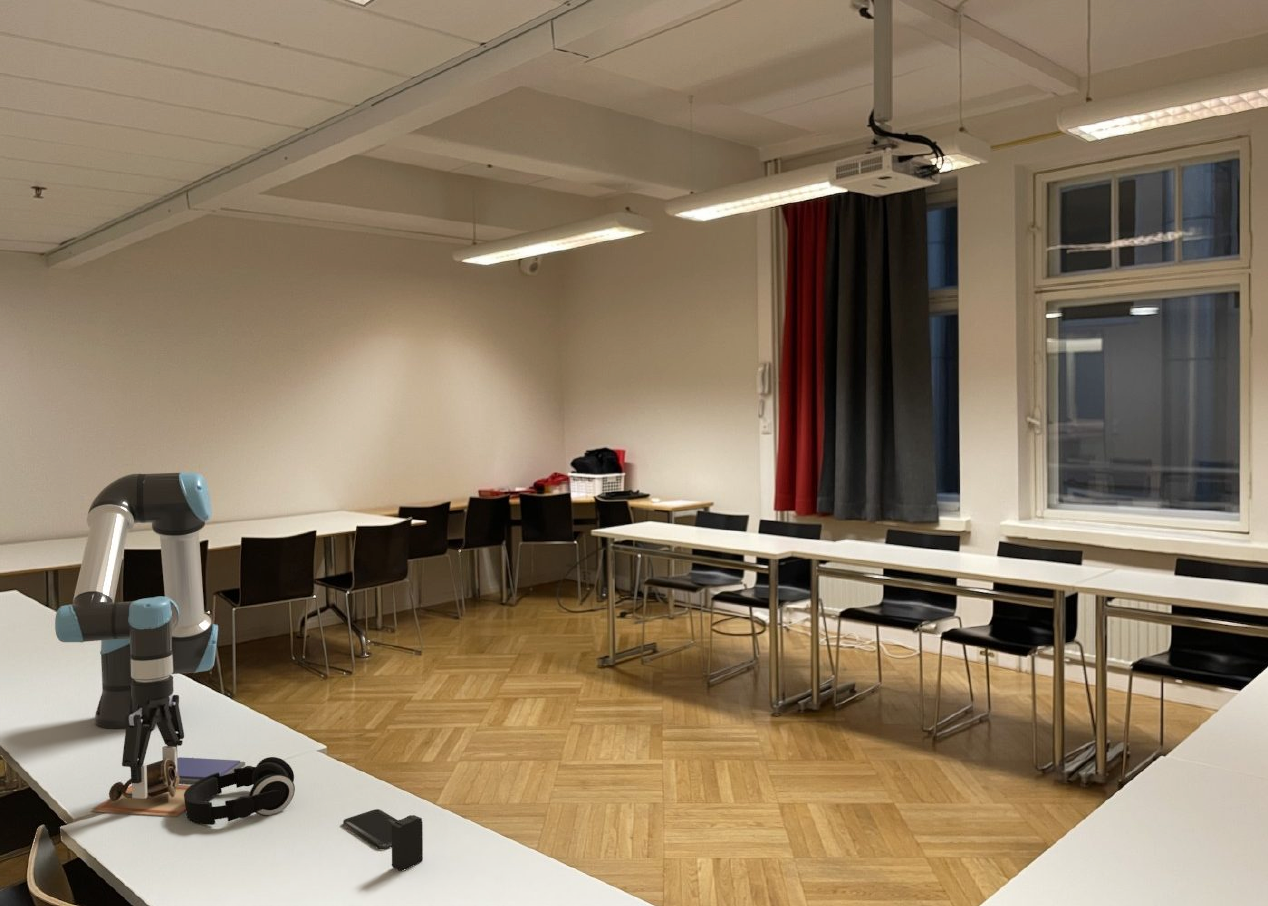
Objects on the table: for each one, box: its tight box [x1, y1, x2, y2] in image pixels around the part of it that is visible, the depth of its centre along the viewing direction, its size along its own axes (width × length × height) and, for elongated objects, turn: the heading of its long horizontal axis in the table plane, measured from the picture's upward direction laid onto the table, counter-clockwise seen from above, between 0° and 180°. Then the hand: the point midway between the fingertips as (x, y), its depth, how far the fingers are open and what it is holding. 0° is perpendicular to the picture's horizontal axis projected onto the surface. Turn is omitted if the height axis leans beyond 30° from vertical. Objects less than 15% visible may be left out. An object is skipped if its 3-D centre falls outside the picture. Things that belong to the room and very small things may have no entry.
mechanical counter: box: [108, 758, 180, 801], centre depth 194 cm, size 7×13×10 cm
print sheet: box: [90, 784, 191, 818], centre depth 194 cm, size 14×18×1 cm
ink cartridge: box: [391, 814, 424, 872], centre depth 167 cm, size 5×2×8 cm, turn 141°
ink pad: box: [177, 756, 246, 784], centre depth 208 cm, size 11×16×1 cm
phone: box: [342, 809, 399, 850], centre depth 180 cm, size 8×1×15 cm
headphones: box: [184, 756, 296, 826], centre depth 191 cm, size 18×8×20 cm
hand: (155, 787), depth 194 cm, fingers closed on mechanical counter, 9 cm apart
